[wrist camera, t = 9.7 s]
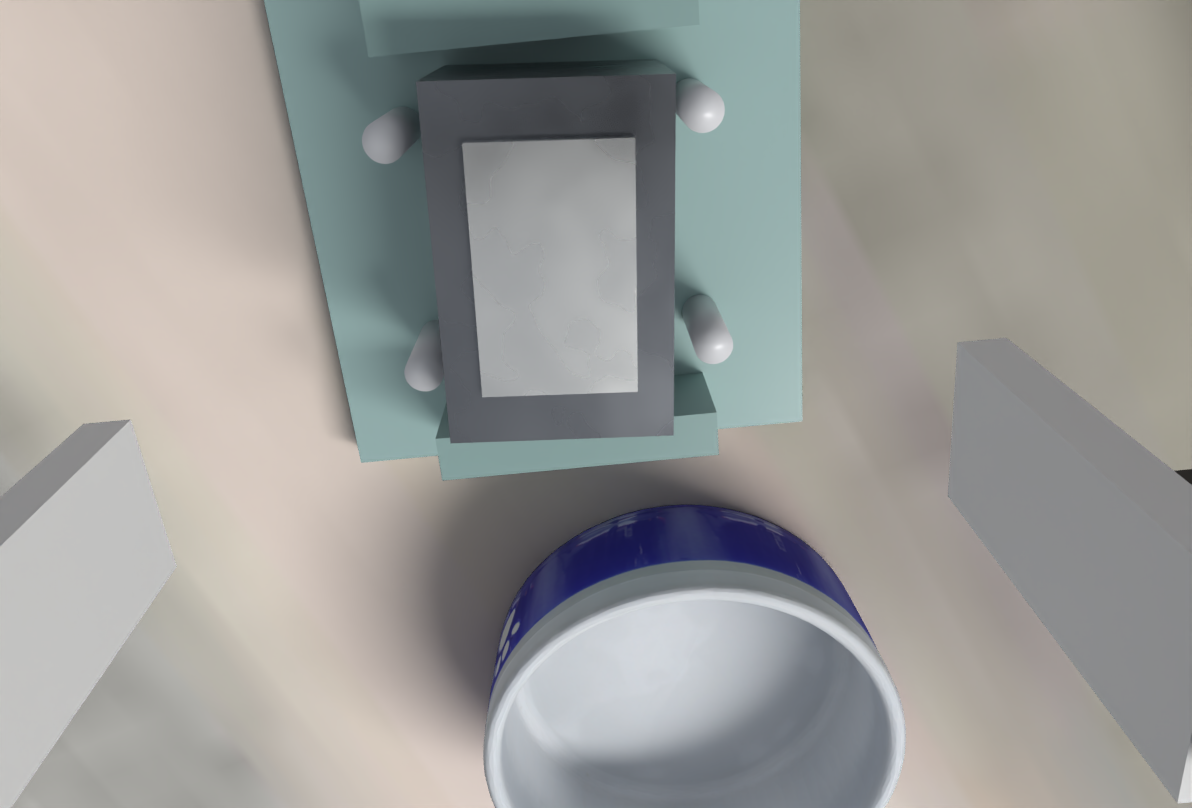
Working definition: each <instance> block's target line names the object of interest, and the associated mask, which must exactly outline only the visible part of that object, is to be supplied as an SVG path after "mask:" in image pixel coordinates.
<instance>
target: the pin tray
mask: <svg viewBox="0 0 1192 808" xmlns="http://www.w3.org/2000/svg"><path fill="white" fill-rule="evenodd" d="M264 3H265V8H266V13H267V18H268V22H269V27H270V32H271V37H272V41H273V46H274V51H275V56H276V60H277V65H278V70H279V75H280V79H281V84H282V89H283V94H284V98H285V103H286V108H287V113H288V117H289V122H290V127H291V132H292V136H293V141H294V146H295V151H296V155H297V160H298V165H299V169H300V174H301V179H302V184H303V188H304V193H305V198H306V203H307V207H308V212H309V217H310V222H311V226H312V231H313V236H314V241H315V245H316V250H317V255H318V260H319V264H320V269H321V274H322V279H323V283H324V288H325V293H326V298H327V302H328V307H329V312H330V317H331V321H332V326H333V331H334V336H335V340H336V345H337V350H338V355H339V359H340V364H341V369H342V374H343V378H344V383H345V388H346V393H347V397H348V402H349V407H350V412H351V416H352V421H353V426H354V431H355V435H356V440H357V445H358V450H359V454H360V459H361V463H363V462H374V461H384V460H395V459H405V458H416V457H427V456H437V455H438V457H439V463H440V469H441V475H442V480H454V479H464V478H475V477H486V476H496V475H507V474H518V473H528V472H539V471H550V470H560V469H571V468H581V467H592V466H603V465H613V464H624V463H635V462H645V461H656V460H667V459H677V458H688V457H699V456H709V455H719V450H718V429H724V428H735V427H746V426H756V425H767V424H777V423H788V422H799V421H802V288H801V121H800V0H264ZM637 59H656V60H658V61H659V62H661V63H662V64H663V65H665V66H666V67H667V68H669V69H670V70H672V71H673V72H674V73H676V151H675V311H674V436H646V437H618V438H590V439H562V440H534V441H506V442H478V443H450V433H449V423H448V412H447V402H446V392H445V381H444V371H443V360H442V350H441V339H440V329H439V319H438V308H437V298H436V287H435V277H434V266H433V256H432V246H431V235H430V225H429V214H428V204H427V193H426V183H425V172H424V162H423V152H422V141H421V131H420V120H419V110H418V99H417V89H416V81H418V80H419V79H421V78H423V77H425V76H426V75H428V74H430V73H432V72H433V71H435V70H437V69H439V68H440V67H442V66H444V65H469V64H503V63H536V62H570V61H603V60H637Z"/></svg>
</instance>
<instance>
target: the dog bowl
mask: <svg viewBox="0 0 1192 808" xmlns="http://www.w3.org/2000/svg"><path fill="white" fill-rule="evenodd" d="M905 742H906V729H905V719H904V713H903V708H902V704H901V700H900V697H899V694H898V691H897V689H896V686H895V684H894V682H893V680H892V678H891V676H890V673H889V671H888V669H887V667H886V665H885V663H884V661H883V659H882V658H881V656H880V654H879V652H878V650H877V648H876V646H875V644H874V642H873V640H872V638H871V636H870V634H869V632H868V630H867V628H866V626H865V624H864V622H863V621H862V619H861V617H860V615H859V613H858V611H857V609H856V608H855V606H854V604H853V602H852V600H851V598H850V597H849V595H848V593H847V591H846V590H845V588H844V586H843V584H842V583H841V581H840V580H839V578H838V577H837V576H836V574H835V573H834V571H833V570H832V569H831V568H830V566H829V565H828V564H827V563H826V562H825V561H824V560H823V559H822V557H821V556H820V555H819V554H818V553H817V552H815V551H814V550H813V549H812V548H811V547H810V546H808V545H807V544H806V543H805V542H803V541H802V540H800V539H799V538H797V537H796V536H794V535H793V534H791V533H789V532H788V531H786V530H784V529H782V528H780V527H778V526H776V525H774V524H772V523H770V522H768V521H765V520H763V519H760V518H758V517H755V516H752V515H748V514H745V513H742V512H738V511H734V510H730V509H725V508H718V507H712V506H701V505H673V506H662V507H655V508H649V509H643V510H639V511H635V512H632V513H628V514H625V515H622V516H619V517H616V518H613V519H611V520H608V521H606V522H603V523H601V524H599V525H597V526H595V527H592V528H590V529H588V530H586V531H584V532H583V533H581V534H579V535H577V536H576V537H574V538H573V539H571V540H570V541H568V542H567V543H565V544H564V545H563V546H561V547H560V548H558V549H557V550H556V551H555V552H553V553H552V554H551V555H550V556H549V557H548V558H546V559H545V560H544V561H543V562H542V563H541V564H540V565H539V566H538V567H537V568H536V570H535V571H534V572H533V573H532V574H531V575H530V576H529V578H528V579H527V580H526V582H525V583H524V584H523V586H522V587H521V589H520V590H519V592H518V593H517V595H516V597H515V599H514V601H513V603H512V605H511V607H510V609H509V612H508V614H507V617H506V619H505V622H504V625H503V629H502V632H501V637H500V642H499V647H498V652H497V658H496V663H495V669H494V674H493V680H492V686H491V693H490V700H489V706H488V714H487V720H486V725H485V737H484V770H485V777H486V781H487V785H488V789H489V793H490V796H491V798H492V801H493V803H494V806H495V808H885V807H886V805H887V803H888V802H889V800H890V798H891V796H892V794H893V792H894V789H895V787H896V784H897V782H898V779H899V776H900V772H901V769H902V764H903V760H904V754H905Z"/></svg>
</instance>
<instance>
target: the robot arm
mask: <svg viewBox="0 0 1192 808" xmlns="http://www.w3.org/2000/svg"><path fill="white" fill-rule="evenodd" d="M948 497H949V498H950V500H951V501H952V502H953V504H954V505H955V506H956V508H957V509H958V510H959V512H960V513H961V514H962V516H963V517H964V518H965V520H966V521H967V522H968V524H969V525H970V526H971V528H972V529H973V530H974V532H975V533H976V534H977V536H978V537H979V538H980V540H981V541H982V542H983V544H984V545H985V546H986V548H987V549H988V550H989V552H990V553H991V554H992V556H993V557H994V559H995V560H996V561H997V563H998V564H999V565H1000V567H1001V568H1002V569H1003V571H1004V572H1005V573H1006V575H1007V576H1008V577H1009V579H1010V580H1011V581H1012V583H1013V584H1014V585H1015V587H1016V588H1017V589H1018V591H1019V592H1020V593H1021V595H1022V596H1023V597H1024V599H1025V600H1026V601H1027V603H1028V604H1029V605H1030V607H1031V608H1032V609H1033V611H1034V612H1035V613H1036V615H1037V616H1038V617H1039V619H1040V620H1041V621H1042V623H1043V624H1044V625H1045V627H1046V628H1047V629H1048V631H1049V632H1050V633H1051V635H1052V636H1053V637H1054V639H1055V640H1056V641H1057V643H1058V644H1059V645H1060V647H1061V648H1062V649H1063V651H1064V652H1065V654H1066V655H1067V656H1068V658H1069V659H1070V660H1071V662H1072V663H1073V664H1074V666H1075V667H1076V668H1077V670H1078V671H1079V672H1080V674H1081V675H1082V676H1083V678H1084V679H1085V680H1086V682H1087V683H1088V684H1089V686H1090V687H1091V688H1092V690H1093V691H1094V692H1095V694H1096V695H1097V696H1098V698H1099V699H1100V700H1101V702H1102V703H1103V704H1104V706H1105V707H1106V708H1107V710H1108V711H1109V712H1110V714H1111V715H1112V716H1113V718H1114V719H1115V720H1116V722H1117V723H1118V724H1119V726H1120V727H1121V728H1122V730H1123V731H1124V732H1125V734H1126V735H1127V736H1128V738H1129V739H1130V740H1131V742H1132V743H1133V745H1134V746H1135V747H1136V749H1137V750H1138V751H1139V753H1140V754H1141V755H1142V757H1143V758H1144V759H1145V761H1146V762H1147V763H1148V765H1149V766H1150V767H1151V769H1152V770H1153V771H1154V773H1155V774H1156V775H1157V777H1158V778H1159V779H1160V781H1161V782H1162V783H1163V785H1164V786H1165V787H1166V789H1167V790H1168V791H1169V793H1170V794H1171V795H1172V797H1173V798H1174V799H1175V801H1176V802H1177V803H1187V802H1192V469H1190V470H1179V471H1174V470H1172V469H1171V468H1170V467H1168V466H1167V465H1166V464H1165V463H1163V462H1162V461H1161V460H1160V459H1158V458H1157V457H1156V456H1155V455H1153V454H1152V453H1151V452H1150V451H1148V450H1147V449H1146V448H1145V447H1143V446H1142V445H1141V444H1140V443H1138V442H1137V441H1136V440H1135V439H1133V438H1132V437H1131V436H1129V435H1128V434H1127V433H1126V432H1124V431H1123V430H1122V429H1121V428H1119V427H1118V426H1117V425H1116V424H1114V423H1113V422H1112V421H1111V420H1109V419H1108V418H1107V417H1106V416H1104V415H1103V414H1102V413H1101V412H1099V411H1098V410H1097V409H1095V408H1094V407H1093V406H1092V405H1090V404H1089V403H1088V402H1087V401H1085V400H1084V399H1083V398H1082V397H1080V396H1079V395H1078V394H1077V393H1075V392H1074V391H1073V390H1072V389H1070V388H1069V387H1068V386H1067V385H1065V384H1064V383H1063V382H1061V381H1060V380H1059V379H1058V378H1056V377H1055V376H1054V375H1053V374H1051V373H1050V372H1049V371H1048V370H1046V369H1045V368H1044V367H1043V366H1041V365H1040V364H1039V363H1038V362H1036V361H1035V360H1034V359H1033V358H1031V357H1030V356H1029V355H1028V354H1026V353H1025V352H1024V351H1022V350H1021V349H1020V348H1019V347H1017V346H1016V345H1015V344H1014V343H1012V342H1011V341H1010V340H1009V339H1007V338H999V339H988V340H977V341H967V342H958V344H957V359H956V375H955V391H954V407H953V423H952V438H951V454H950V470H949V486H948ZM176 567H177V566H176V562H175V559H174V556H173V553H172V550H171V546H170V543H169V540H168V537H167V534H166V530H165V527H164V524H163V521H162V518H161V514H160V511H159V508H158V505H157V502H156V498H155V495H154V492H153V489H152V486H151V483H150V479H149V476H148V473H147V470H146V467H145V463H144V460H143V457H142V454H141V451H140V447H139V444H138V441H137V438H136V435H135V431H134V428H133V425H132V422H131V420H121V421H110V422H100V423H89V424H83V425H82V426H80V427H79V428H78V429H77V430H76V431H75V432H74V433H73V434H71V435H70V436H69V437H68V438H67V439H66V440H65V441H63V442H62V443H61V444H60V445H59V446H58V447H57V448H56V449H54V450H53V451H52V452H51V453H50V454H49V455H48V456H47V457H45V458H44V459H43V460H42V461H41V462H40V463H39V464H38V465H36V466H35V467H34V468H33V469H32V470H31V471H30V472H28V473H27V474H26V475H25V476H24V477H23V478H22V479H21V480H19V481H18V482H17V483H16V484H15V485H14V486H13V487H12V488H10V489H9V490H8V491H7V492H6V493H5V494H4V495H3V496H1V497H0V808H11V807H12V806H13V804H14V803H15V801H16V800H17V798H18V797H19V795H20V794H21V793H22V791H23V790H24V788H25V787H26V785H27V784H28V782H29V781H30V779H31V778H32V777H33V775H34V774H35V772H36V771H37V769H38V768H39V766H40V765H41V763H42V762H43V760H44V759H45V758H46V756H47V755H48V753H49V752H50V750H51V749H52V747H53V746H54V744H55V743H56V742H57V740H58V739H59V737H60V736H61V734H62V733H63V731H64V730H65V728H66V727H67V726H68V724H69V723H70V721H71V720H72V718H73V717H74V715H75V714H76V712H77V711H78V710H79V708H80V707H81V705H82V704H83V702H84V701H85V699H86V698H87V696H88V695H89V693H90V692H91V691H92V689H93V688H94V686H95V685H96V683H97V682H98V680H99V679H100V677H101V676H102V675H103V673H104V672H105V670H106V669H107V667H108V666H109V664H110V663H111V661H112V660H113V659H114V657H115V656H116V654H117V653H118V651H119V650H120V648H121V647H122V645H123V644H124V642H125V641H126V640H127V638H128V637H129V635H130V634H131V632H132V631H133V629H134V628H135V626H136V625H137V624H138V622H139V621H140V619H141V618H142V616H143V615H144V613H145V612H146V610H147V609H148V608H149V606H150V605H151V603H152V602H153V600H154V599H155V597H156V596H157V594H158V593H159V591H160V590H161V589H162V587H163V586H164V584H165V583H166V581H167V580H168V578H169V577H170V575H171V574H172V573H173V571H174V570H175V568H176Z"/></svg>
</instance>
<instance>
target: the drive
mask: <svg viewBox="0 0 1192 808" xmlns="http://www.w3.org/2000/svg"><path fill="white" fill-rule="evenodd" d="M416 89H417V99H418V110H419V120H420V131H421V141H422V152H423V162H424V172H425V183H426V193H427V204H428V214H429V225H430V235H431V246H432V256H433V266H434V277H435V287H436V298H437V308H438V319H439V329H440V339H441V350H442V360H443V371H444V381H445V392H446V402H447V412H448V423H449V433H450V443H478V442H506V441H534V440H562V439H590V438H618V437H646V436H674V311H675V151H676V73H674V72H673V71H672V70H670V69H669V68H667V67H666V66H665V65H663V64H662V63H661V62H659V61H658V60H656V59H637V60H603V61H570V62H536V63H503V64H469V65H444V66H442V67H440V68H439V69H437V70H435V71H433V72H432V73H430V74H428V75H426V76H425V77H423V78H421V79H419V80H418V81H416Z"/></svg>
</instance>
